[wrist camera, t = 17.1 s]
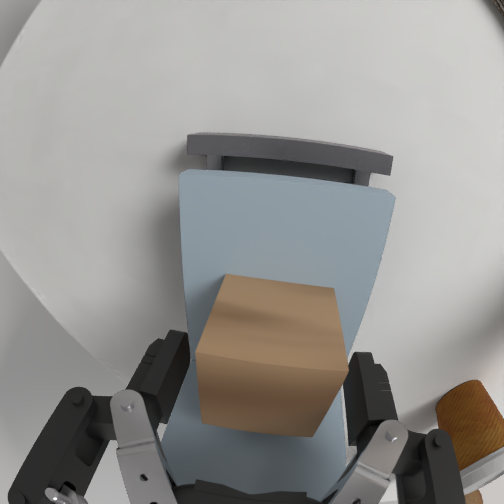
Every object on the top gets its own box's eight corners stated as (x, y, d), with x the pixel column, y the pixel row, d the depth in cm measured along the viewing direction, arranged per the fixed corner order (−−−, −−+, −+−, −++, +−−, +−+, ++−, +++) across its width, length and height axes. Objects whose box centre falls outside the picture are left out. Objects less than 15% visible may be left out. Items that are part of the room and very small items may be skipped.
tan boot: (476, 464, 36) (485, 509, 23) (480, 468, 39) (488, 507, 25) (425, 489, 42) (430, 532, 29) (435, 490, 45) (440, 529, 31)
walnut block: (311, 360, 15) (312, 437, 10) (223, 348, 15) (201, 423, 11) (333, 287, 13) (348, 371, 8) (226, 273, 13) (195, 351, 9)
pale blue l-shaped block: (330, 348, 19) (340, 504, 9) (206, 333, 20) (153, 481, 10) (372, 179, 14) (515, 319, 3) (203, 161, 14) (35, 267, 4)
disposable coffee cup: (437, 426, 25) (454, 501, 14) (410, 407, 23) (429, 503, 13) (497, 385, 21) (526, 459, 11) (483, 357, 19) (524, 451, 9)
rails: (308, 415, 25) (307, 431, 23) (209, 403, 26) (204, 419, 24) (380, 151, 14) (393, 156, 12) (199, 132, 15) (187, 134, 13)
